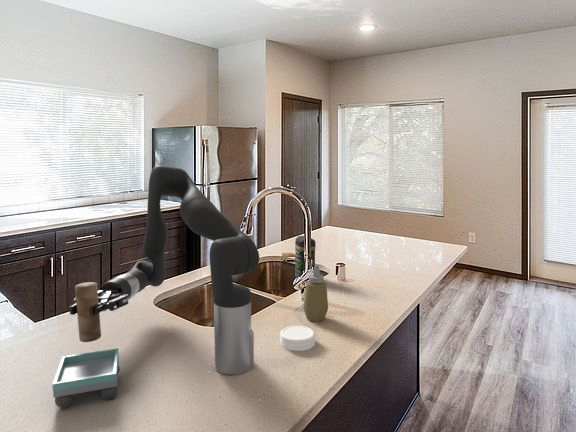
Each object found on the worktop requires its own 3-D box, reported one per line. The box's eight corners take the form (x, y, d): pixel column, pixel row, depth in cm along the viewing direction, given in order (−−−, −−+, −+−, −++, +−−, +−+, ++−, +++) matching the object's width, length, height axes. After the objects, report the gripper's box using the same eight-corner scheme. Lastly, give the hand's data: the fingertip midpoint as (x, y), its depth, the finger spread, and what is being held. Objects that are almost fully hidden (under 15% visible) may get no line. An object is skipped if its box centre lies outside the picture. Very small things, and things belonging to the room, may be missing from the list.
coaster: (308, 334, 121) (308, 323, 121) (320, 349, 112) (320, 337, 111) (276, 338, 118) (276, 327, 118) (285, 354, 109) (285, 342, 108)
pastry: (297, 257, 209) (297, 250, 208) (301, 261, 203) (301, 253, 202) (279, 258, 207) (279, 251, 206) (283, 262, 200) (283, 255, 200)
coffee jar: (292, 276, 177) (293, 234, 174) (309, 274, 179) (310, 234, 177) (299, 283, 168) (300, 239, 165) (317, 281, 170) (318, 238, 167)
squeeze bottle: (329, 323, 128) (330, 269, 125) (303, 323, 128) (304, 268, 125) (326, 313, 136) (328, 262, 133) (303, 313, 136) (303, 261, 133)
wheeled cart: (120, 372, 99) (118, 347, 98) (118, 400, 88) (116, 373, 87) (63, 381, 95) (61, 356, 94) (54, 413, 83) (51, 384, 82)
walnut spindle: (101, 332, 107) (97, 281, 104) (100, 340, 102) (96, 287, 100) (80, 335, 105) (76, 283, 103) (78, 343, 100) (73, 289, 98)
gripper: (96, 275, 117) (53, 295, 100) (142, 278, 114) (106, 298, 98) (98, 300, 118) (56, 324, 101) (144, 303, 116) (108, 328, 99)
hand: (81, 311), depth 100 cm, fingers closed on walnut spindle, 5 cm apart
